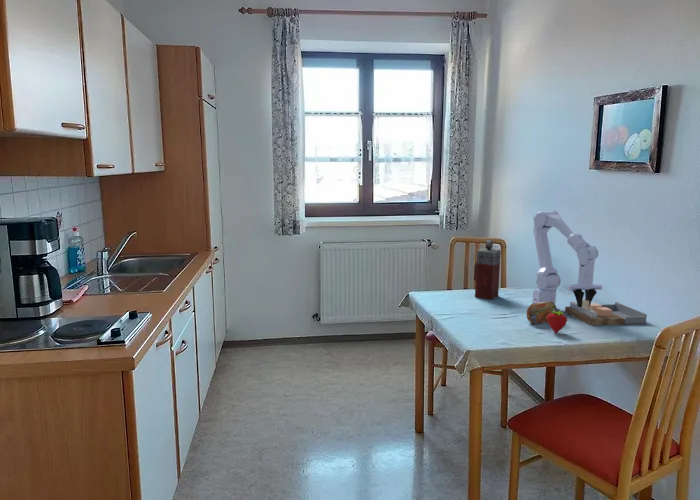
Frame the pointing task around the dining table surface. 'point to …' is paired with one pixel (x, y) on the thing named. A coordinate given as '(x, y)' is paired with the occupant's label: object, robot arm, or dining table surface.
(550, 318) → the strawberry
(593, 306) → the tile
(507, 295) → the dining table surface
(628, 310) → the box
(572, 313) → the board
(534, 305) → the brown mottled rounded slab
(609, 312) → the tile
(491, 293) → the brown rectangular bottle
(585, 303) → the grey bar with block
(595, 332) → the dining table surface
